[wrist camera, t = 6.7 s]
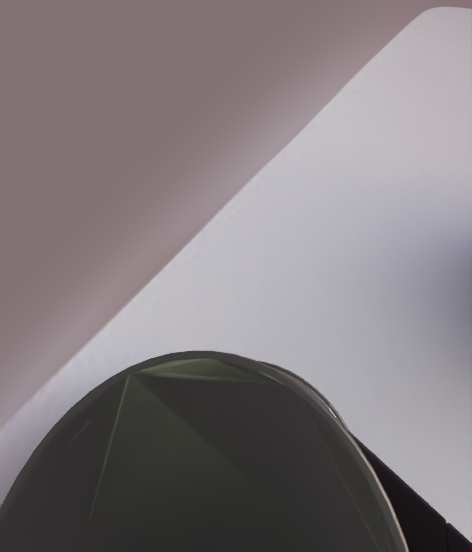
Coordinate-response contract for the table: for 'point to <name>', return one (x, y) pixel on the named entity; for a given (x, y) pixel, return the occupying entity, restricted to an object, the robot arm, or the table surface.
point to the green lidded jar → (199, 468)
